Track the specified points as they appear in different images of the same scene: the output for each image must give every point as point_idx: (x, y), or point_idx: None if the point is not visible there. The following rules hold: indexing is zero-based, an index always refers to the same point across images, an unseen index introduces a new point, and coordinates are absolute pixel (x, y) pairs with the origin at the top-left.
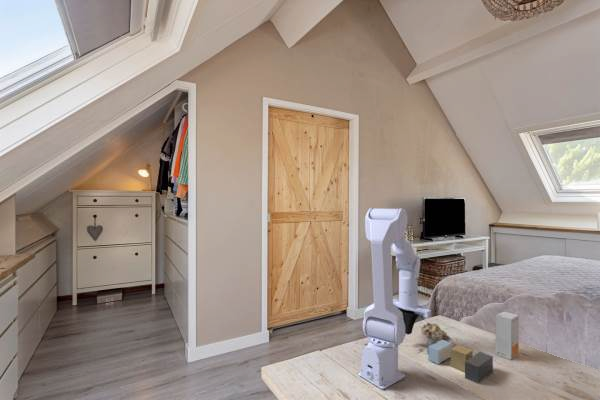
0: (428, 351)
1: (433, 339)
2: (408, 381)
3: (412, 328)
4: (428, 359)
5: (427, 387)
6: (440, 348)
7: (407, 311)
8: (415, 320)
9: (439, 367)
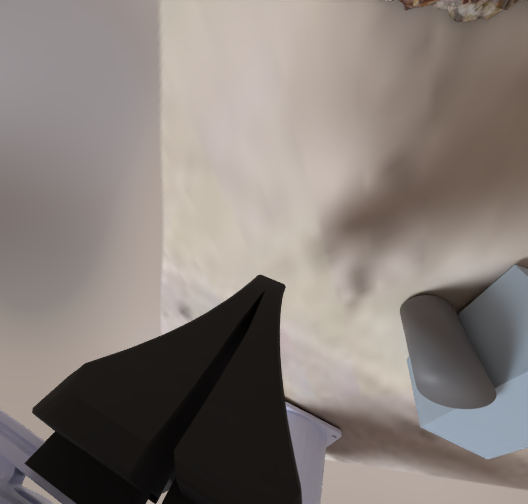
0: (414, 397)
1: (470, 382)
2: (353, 438)
3: (280, 309)
4: (407, 361)
5: (406, 457)
6: (510, 446)
7: (156, 490)
8: (281, 381)
9: None
